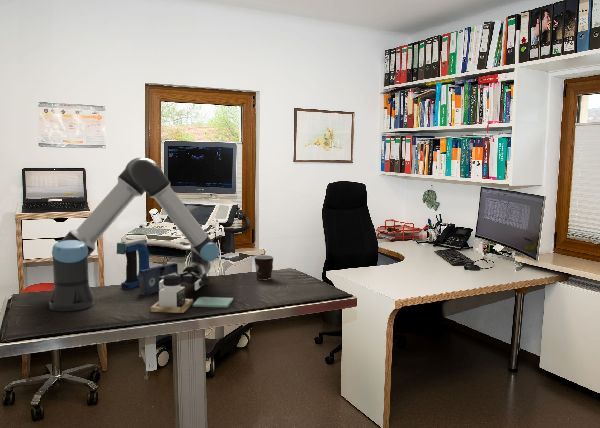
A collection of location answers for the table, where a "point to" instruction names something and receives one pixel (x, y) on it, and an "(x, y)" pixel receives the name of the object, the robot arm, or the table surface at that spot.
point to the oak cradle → (172, 309)
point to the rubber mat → (213, 302)
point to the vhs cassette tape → (154, 277)
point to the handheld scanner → (134, 260)
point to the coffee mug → (263, 266)
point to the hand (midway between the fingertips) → (177, 286)
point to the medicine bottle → (172, 292)
